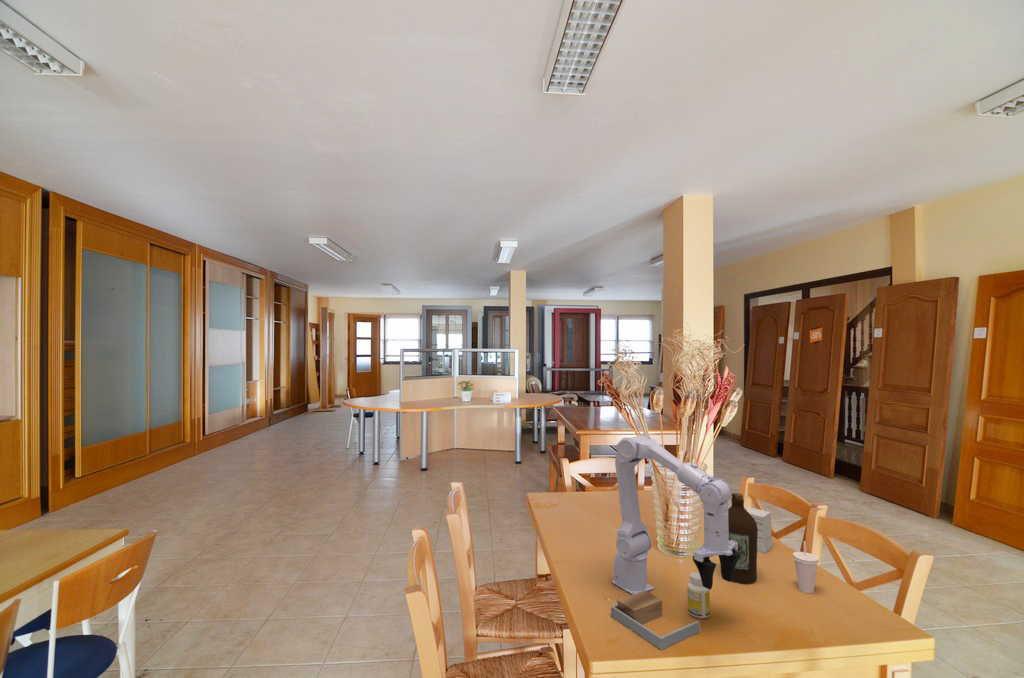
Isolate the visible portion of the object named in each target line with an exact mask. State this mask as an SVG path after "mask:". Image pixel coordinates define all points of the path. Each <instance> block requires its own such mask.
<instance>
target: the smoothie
mask: <svg viewBox="0 0 1024 678" xmlns="http://www.w3.org/2000/svg"><path fill="white" fill-rule="evenodd" d="M802 542H803V551H795V552H793V553H792V559H793V560H794V566H795V567H794V568H795V571H796V577H797V578H796V579H797V585H798V590H799V591H800V592H802V593H804V594H805V593H806V594H814V592H815V587H816V578H817V569H818V563H819V562H820V561H819V557H818V556H817V555H814V554H813V553H809V552H807V547H806V546H807V543H806V542H807V541H805V540H803V541H802Z"/></svg>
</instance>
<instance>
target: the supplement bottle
mask: <svg viewBox="0 0 1024 678" xmlns="http://www.w3.org/2000/svg"><path fill="white" fill-rule="evenodd" d="M686 587H687V589H686V590H687V610H688V613H689V615H690V616H692V617H694V618H697V619H708V618H709V617H710V616H711V605H710V604H711V603H710V602H711V601H710V597H711V596H710V589H707V588H705V587H703V584H702V580H701V577H700V574H699V572H698V571H697V572H691V573H689V582H688V583H687V586H686Z"/></svg>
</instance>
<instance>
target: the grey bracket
mask: <svg viewBox="0 0 1024 678" xmlns="http://www.w3.org/2000/svg"><path fill="white" fill-rule="evenodd" d="M610 613H611V614H610V616H611V617H612V618H613V619H615V620H616V621H618V623H621V624H622V625H624V627H626V628H628V629H629V630H630V631H632V632H634V633H636V634H637V635H638V636H639V637H642V638H643V639H645V640H646V641H647V642H648V643H650V644H651V645H653V646H655V647H657V649H659V650H661V651H662V650H664V649H666V648H668V647H671V646H672V645H675V644H678V643H679V642H682V641H684V640H686V639H688V638H690V637H692V636H694V635H696V634H699V633H700V621H699V620H696V621H693V622H691V623H690V624H687V625H684V626H683V627H680V628H678V629H676V630H673V631H671V632H669V633H667V634H665V635H663V636H660V635H659V634H657V633H656V632H654V631H652V630H650V629H649V628H647V627H646V626H644V625H643V624H640V623H638V622H637V621H635V620H634V619H632V618H631V617H629V616H627V615H626V614H624V613H623V612H621V611H620V610H618V609H617V604H613V605H611V606H610Z"/></svg>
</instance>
